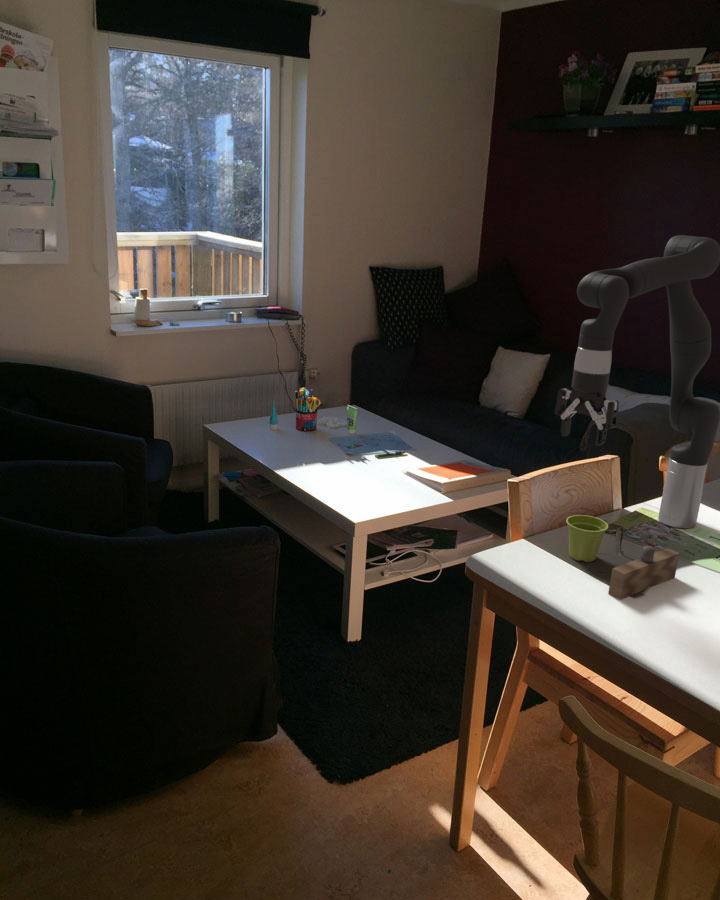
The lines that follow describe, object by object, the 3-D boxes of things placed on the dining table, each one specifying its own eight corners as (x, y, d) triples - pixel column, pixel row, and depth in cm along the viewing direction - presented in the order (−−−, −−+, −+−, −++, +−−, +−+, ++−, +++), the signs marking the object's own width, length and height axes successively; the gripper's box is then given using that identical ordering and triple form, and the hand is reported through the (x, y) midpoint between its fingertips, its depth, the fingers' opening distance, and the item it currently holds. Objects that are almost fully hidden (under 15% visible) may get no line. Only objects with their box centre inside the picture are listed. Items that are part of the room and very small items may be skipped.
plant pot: (583, 568, 182) (588, 534, 179) (553, 552, 189) (558, 518, 187) (611, 560, 187) (617, 526, 184) (581, 545, 194) (586, 512, 192)
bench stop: (663, 572, 182) (669, 535, 180) (674, 577, 180) (681, 540, 177) (608, 593, 171) (614, 555, 168) (619, 599, 169) (626, 561, 166)
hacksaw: (598, 522, 210) (599, 517, 209) (639, 530, 206) (640, 524, 206) (590, 559, 188) (591, 553, 187) (636, 568, 185) (637, 562, 184)
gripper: (631, 373, 170) (619, 445, 175) (573, 360, 180) (564, 429, 185) (612, 377, 165) (600, 451, 170) (554, 364, 175) (545, 435, 180)
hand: (581, 440), depth 178 cm, fingers open, 8 cm apart
